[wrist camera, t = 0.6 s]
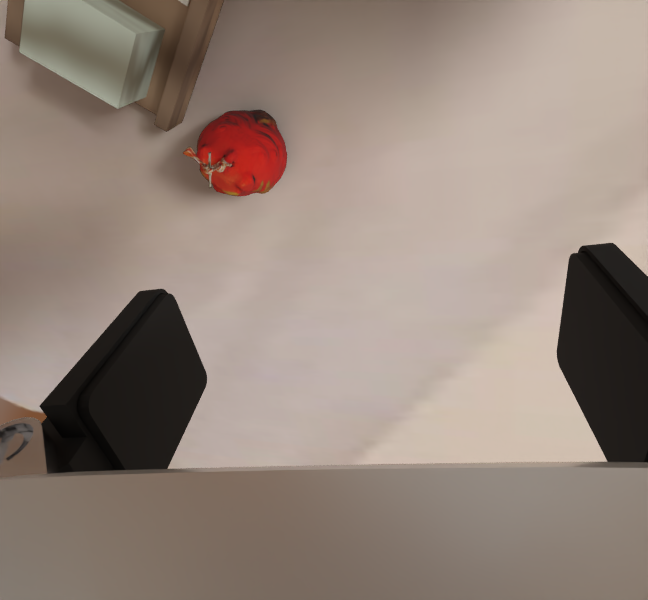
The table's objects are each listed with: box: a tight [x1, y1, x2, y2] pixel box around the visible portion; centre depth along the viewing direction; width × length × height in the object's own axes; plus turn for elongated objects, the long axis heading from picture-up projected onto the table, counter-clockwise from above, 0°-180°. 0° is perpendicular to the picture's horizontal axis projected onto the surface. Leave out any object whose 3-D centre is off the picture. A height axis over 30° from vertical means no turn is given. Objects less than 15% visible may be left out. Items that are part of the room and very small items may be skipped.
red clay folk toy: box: [183, 110, 287, 196], centre depth 36 cm, size 8×7×15 cm
